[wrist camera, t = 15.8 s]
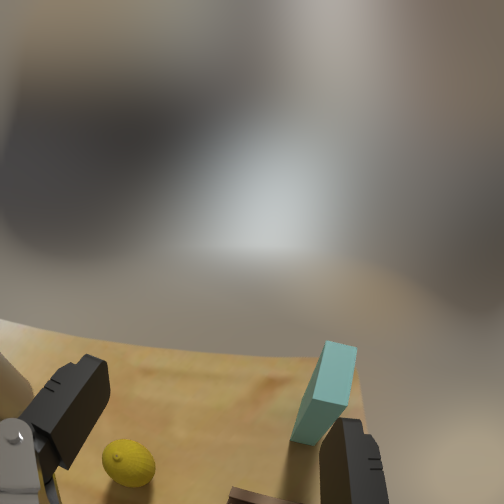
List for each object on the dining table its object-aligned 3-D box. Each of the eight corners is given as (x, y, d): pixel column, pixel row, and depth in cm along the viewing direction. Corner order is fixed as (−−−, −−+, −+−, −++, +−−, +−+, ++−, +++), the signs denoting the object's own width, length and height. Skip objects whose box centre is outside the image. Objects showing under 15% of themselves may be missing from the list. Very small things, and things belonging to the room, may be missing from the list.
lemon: (169, 483, 28) (151, 473, 22) (126, 495, 26) (100, 487, 20) (152, 443, 31) (133, 424, 26) (112, 455, 29) (85, 437, 24)
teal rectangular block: (289, 440, 33) (312, 398, 23) (302, 398, 37) (326, 340, 28) (313, 446, 32) (347, 406, 23) (324, 403, 36) (357, 347, 27)
